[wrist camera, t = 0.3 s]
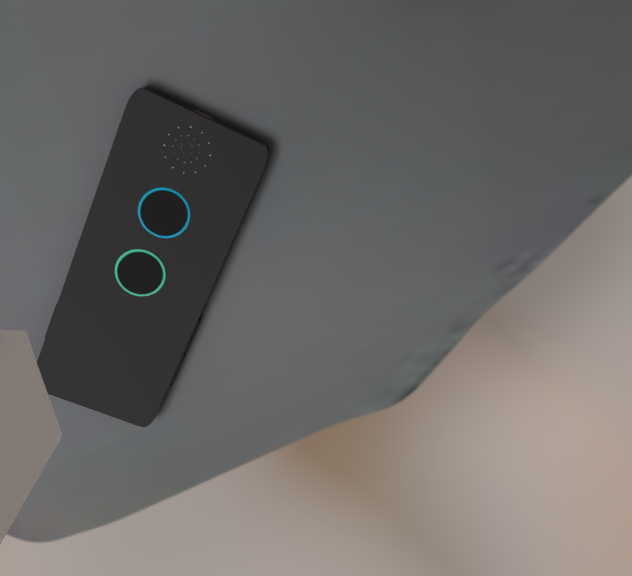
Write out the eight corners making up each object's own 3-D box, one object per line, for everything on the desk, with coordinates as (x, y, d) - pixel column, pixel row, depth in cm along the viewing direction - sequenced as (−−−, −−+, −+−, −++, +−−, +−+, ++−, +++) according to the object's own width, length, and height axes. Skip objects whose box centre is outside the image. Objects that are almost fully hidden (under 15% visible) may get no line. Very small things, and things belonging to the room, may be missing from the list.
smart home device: (275, 150, 32) (151, 432, 38) (276, 146, 34) (157, 417, 40) (130, 82, 31) (25, 387, 37) (138, 81, 32) (36, 373, 38)
